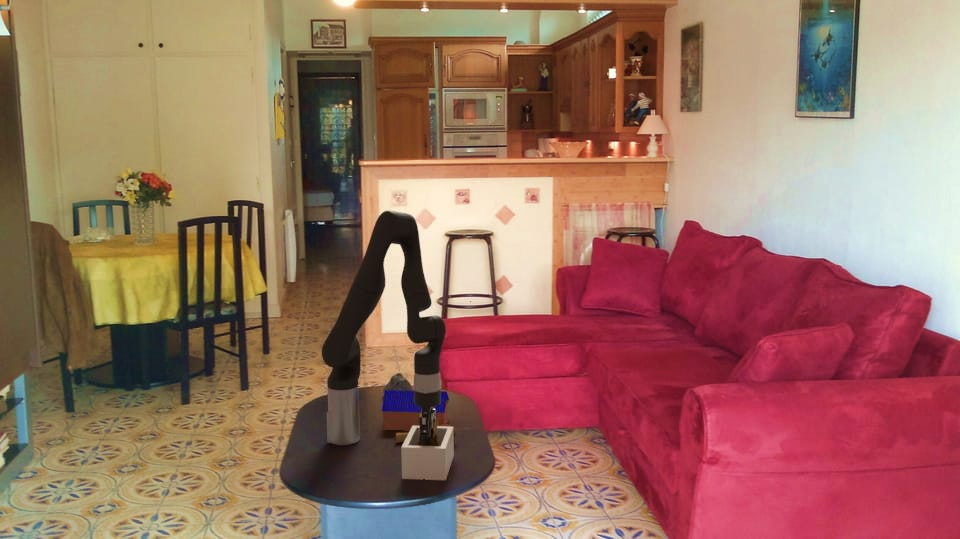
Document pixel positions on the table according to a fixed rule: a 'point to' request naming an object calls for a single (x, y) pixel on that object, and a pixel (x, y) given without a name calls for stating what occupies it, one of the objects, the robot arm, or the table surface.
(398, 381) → the mineral rock
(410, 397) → the house
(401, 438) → the kendama
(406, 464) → the open rectangular box
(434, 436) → the utensil holder
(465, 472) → the table surface
